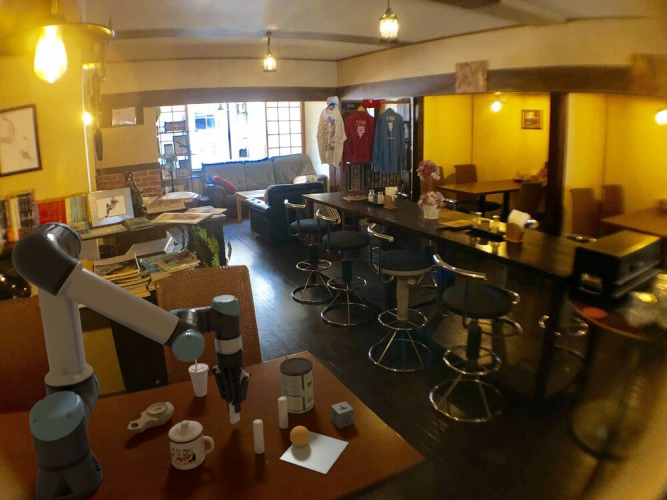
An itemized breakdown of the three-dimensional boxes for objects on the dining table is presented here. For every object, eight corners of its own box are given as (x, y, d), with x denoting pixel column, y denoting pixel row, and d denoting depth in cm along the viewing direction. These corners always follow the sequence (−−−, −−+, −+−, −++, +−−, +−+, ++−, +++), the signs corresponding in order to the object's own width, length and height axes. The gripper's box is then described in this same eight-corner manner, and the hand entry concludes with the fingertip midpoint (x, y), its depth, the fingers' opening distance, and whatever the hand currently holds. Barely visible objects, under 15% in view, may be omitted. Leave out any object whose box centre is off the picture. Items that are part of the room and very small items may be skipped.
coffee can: (285, 395, 166) (283, 356, 163) (316, 396, 165) (314, 357, 161) (278, 413, 156) (276, 372, 153) (311, 414, 155) (310, 373, 152)
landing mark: (279, 459, 135) (279, 458, 135) (305, 430, 147) (305, 430, 147) (325, 474, 129) (325, 473, 129) (348, 443, 141) (348, 442, 141)
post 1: (253, 452, 138) (250, 423, 136) (258, 446, 141) (256, 418, 138) (260, 454, 137) (258, 426, 135) (266, 449, 139) (264, 420, 137)
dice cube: (339, 428, 148) (338, 414, 147) (331, 420, 152) (331, 405, 151) (353, 423, 150) (353, 409, 149) (345, 415, 154) (345, 401, 153)
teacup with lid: (165, 470, 132) (160, 431, 129) (179, 448, 141) (174, 411, 138) (210, 472, 131) (206, 433, 128) (220, 449, 140) (217, 413, 137)
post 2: (277, 427, 149) (276, 400, 147) (282, 422, 151) (281, 396, 149) (285, 429, 148) (283, 402, 146) (289, 424, 150) (288, 398, 148)
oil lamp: (126, 440, 145) (123, 425, 144) (146, 412, 159) (144, 398, 157) (162, 441, 144) (160, 425, 143) (179, 412, 158) (177, 398, 157)
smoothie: (190, 390, 170) (186, 353, 167) (210, 387, 172) (206, 350, 168) (191, 400, 164) (187, 361, 161) (211, 397, 166) (207, 358, 163)
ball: (296, 429, 137) (308, 446, 137) (305, 419, 142) (316, 435, 141) (282, 437, 139) (294, 453, 139) (292, 426, 144) (303, 442, 144)
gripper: (255, 347, 144) (260, 419, 150) (219, 339, 149) (225, 409, 156) (239, 358, 137) (245, 433, 143) (202, 349, 143) (209, 422, 149)
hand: (235, 420), depth 150 cm, fingers closed
